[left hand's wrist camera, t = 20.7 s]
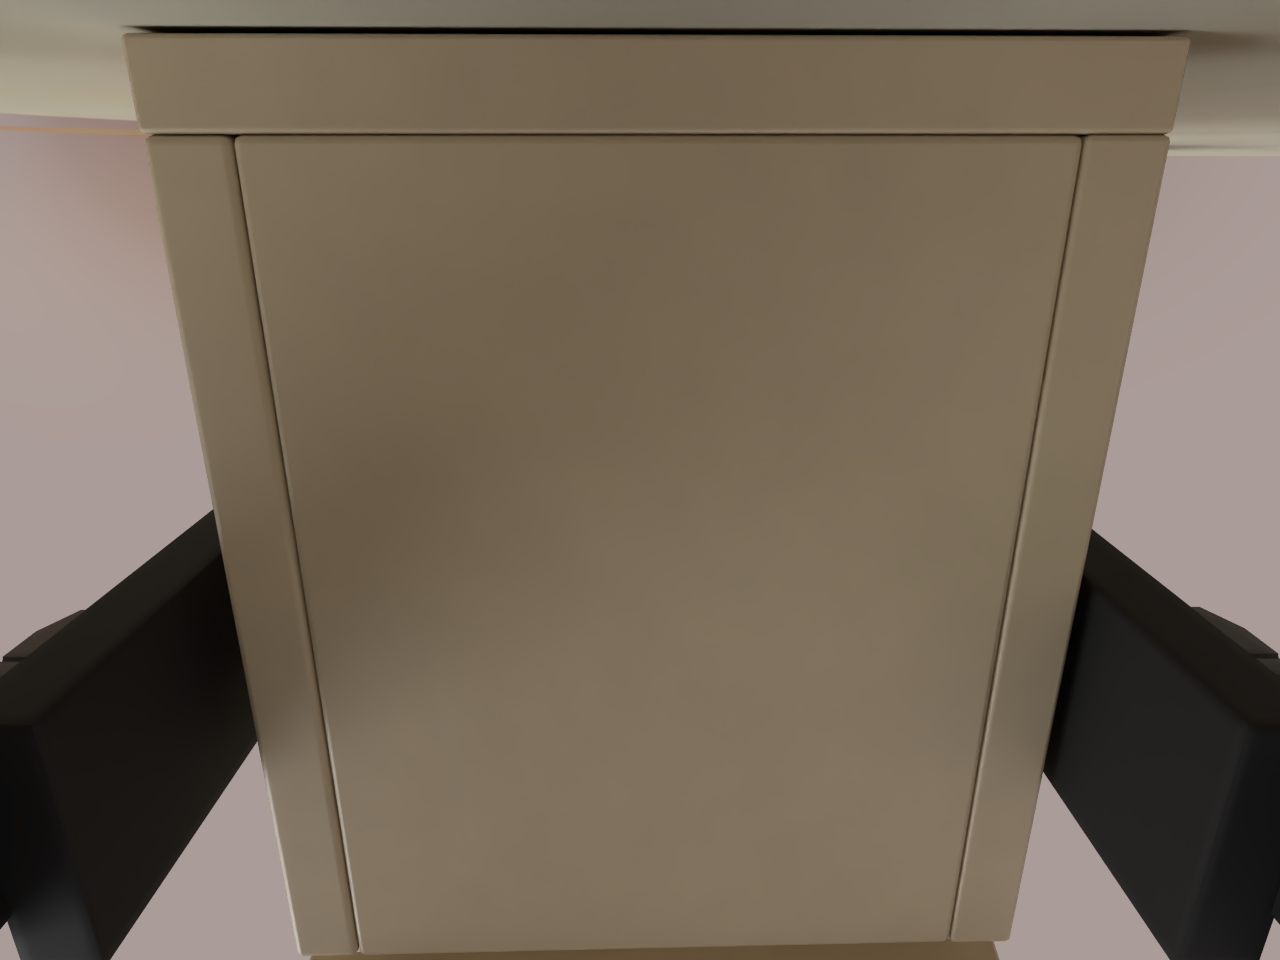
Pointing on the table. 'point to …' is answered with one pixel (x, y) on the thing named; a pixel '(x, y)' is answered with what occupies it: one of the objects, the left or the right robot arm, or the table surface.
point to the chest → (653, 460)
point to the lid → (727, 953)
